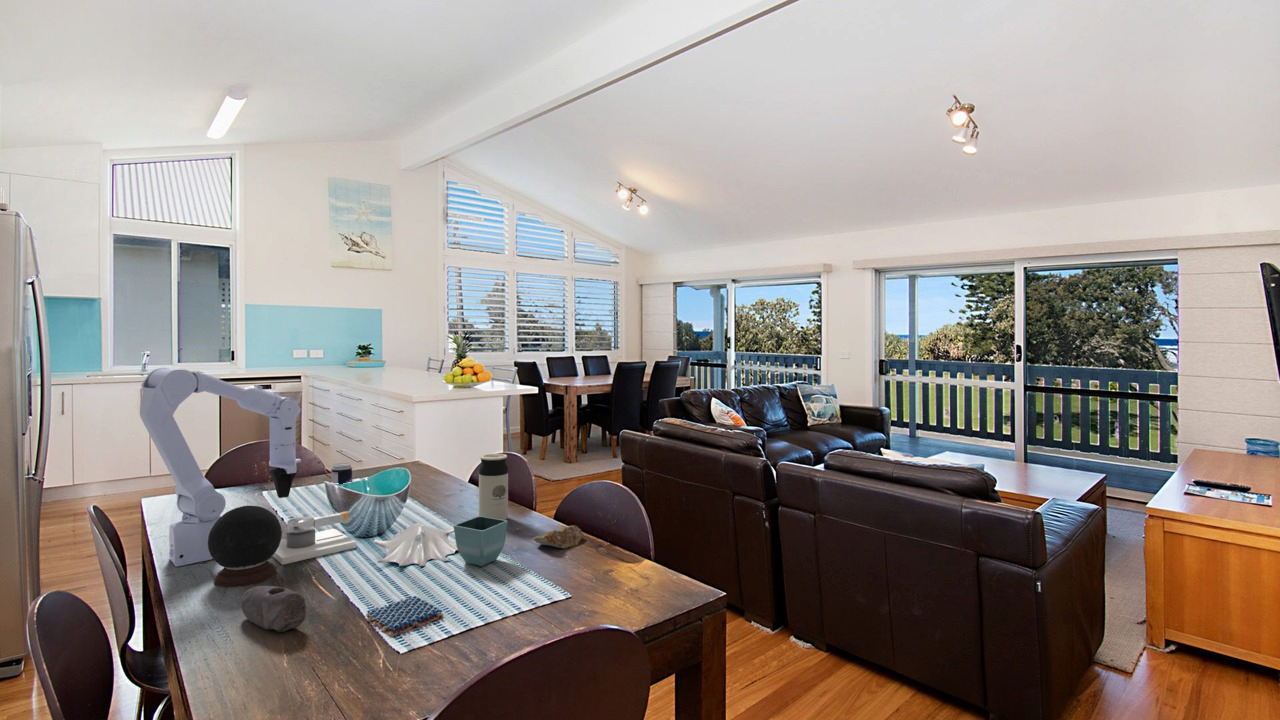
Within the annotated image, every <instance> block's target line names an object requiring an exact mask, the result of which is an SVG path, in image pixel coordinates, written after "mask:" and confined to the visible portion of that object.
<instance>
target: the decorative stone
mask: <svg viewBox="0 0 1280 720" xmlns="http://www.w3.org/2000/svg"><path fill="white" fill-rule="evenodd" d="M582 539H583V532H582V529H581V528H579V526H577V525H576V524H575V525H574V524H573V525H569V526H567V527H565V528H563V529H561V530H551V531H547V532H545V533H541V534H540V535H537V536H535V537H532V540H533V541H535V542H536V543H538V544H540V545H542V546H547V547H548V546H549V547H555V548H560V549H567V548H573V547H575V546H578V545H579V544H580V542H581V540H582Z"/></svg>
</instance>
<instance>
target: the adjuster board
mask: <svg viewBox="0 0 1280 720" xmlns="http://www.w3.org/2000/svg"><path fill="white" fill-rule="evenodd" d="M285 534H286V536H285V537H286V538H281V541H280V544H279V547H278V549H277V550H276V552H275V553H274V554H273V556H272V558H274V559H275V560H276V561H277V562H279V563H280V564H281V565H287V564H292V563H297V562H301V561H304V560H307V559H309V560H310V559H313V558H317V557H321V556H322V557H323V556H326V555H330V554H334V553H335V554H336V553H339V552H343V551H347V550H352V549H356V548H357V541H356V540H354V539H352V538H351V537H349V536H348V535H346V534H345V533H343V532H341V531H339V530H337V529H336V528H331V529H325V530H321V531H317V532H316V529H315V528H314V530H313V531H311V532H308V533H303V534H289V533H287V532H286V533H285Z"/></svg>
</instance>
